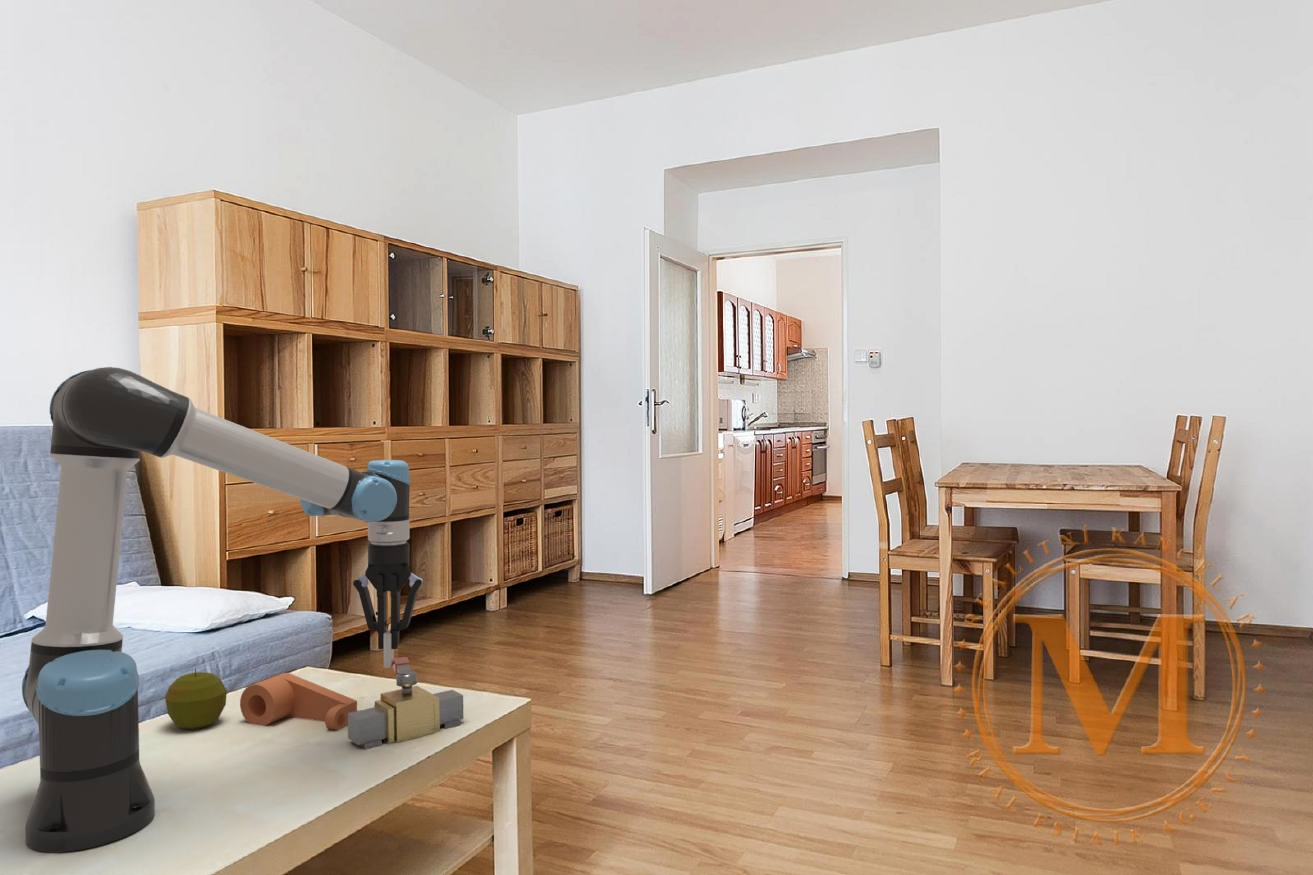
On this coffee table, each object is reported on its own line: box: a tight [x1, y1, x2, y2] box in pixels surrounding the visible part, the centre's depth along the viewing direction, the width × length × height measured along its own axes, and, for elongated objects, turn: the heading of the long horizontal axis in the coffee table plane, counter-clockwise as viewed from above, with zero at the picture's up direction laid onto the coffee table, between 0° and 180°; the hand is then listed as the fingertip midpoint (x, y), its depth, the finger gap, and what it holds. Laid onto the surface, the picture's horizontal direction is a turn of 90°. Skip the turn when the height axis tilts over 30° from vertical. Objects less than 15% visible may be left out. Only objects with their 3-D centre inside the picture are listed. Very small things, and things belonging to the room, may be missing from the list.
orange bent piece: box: [239, 672, 358, 731], centre depth 164 cm, size 20×8×8 cm, turn 72°
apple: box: [164, 668, 228, 731], centre depth 162 cm, size 10×10×11 cm
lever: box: [392, 656, 418, 688], centre depth 162 cm, size 13×4×2 cm, turn 22°
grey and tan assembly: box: [347, 685, 465, 750], centre depth 158 cm, size 20×7×8 cm, turn 130°
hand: (388, 665), depth 166 cm, fingers closed
